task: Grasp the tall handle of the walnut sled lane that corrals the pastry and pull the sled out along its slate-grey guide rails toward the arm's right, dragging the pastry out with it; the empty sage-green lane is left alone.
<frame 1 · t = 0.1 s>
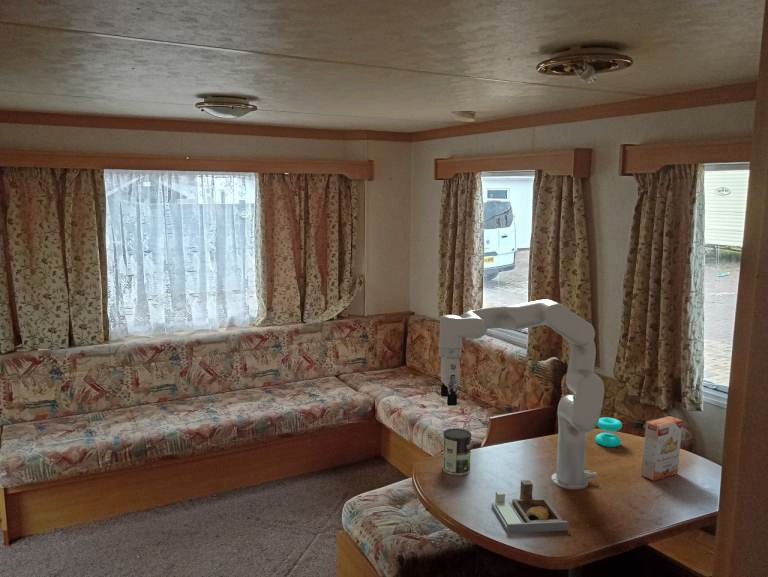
hand: (448, 400, 218), 31 cm above the table, fingers open, 9 cm apart
walnut sled: (534, 503, 203), point 4 cm above the table, slide at 0.0 cm
sage strip: (507, 510, 201), point 2 cm above the table, slide at 0.0 cm
pastry: (536, 520, 201), on the table
donuts: (607, 444, 264), on the table
lane guide: (527, 518, 201), on the table
cracker box: (659, 475, 235), on the table
coffee can: (456, 470, 237), on the table
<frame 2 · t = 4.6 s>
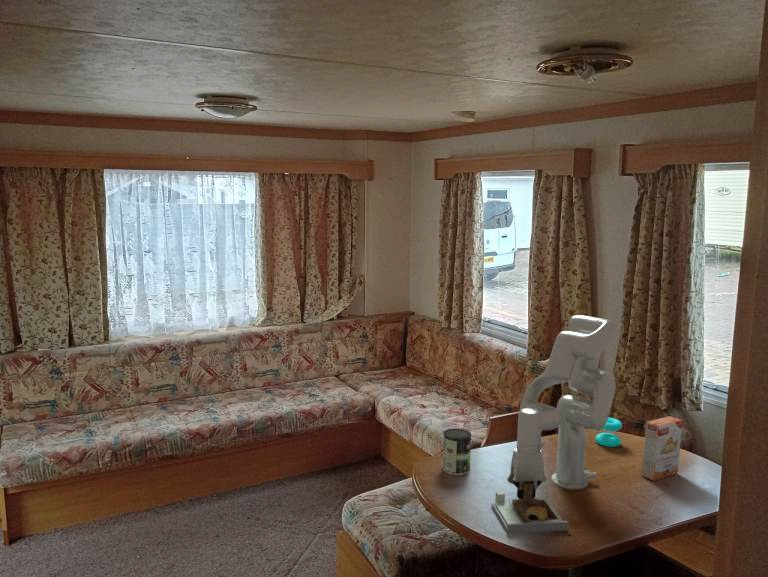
hand: (525, 499, 211), 1 cm above the table, fingers closed on walnut sled, 3 cm apart
walnut sled: (534, 503, 203), point 4 cm above the table, slide at 0.0 cm, touching gripper
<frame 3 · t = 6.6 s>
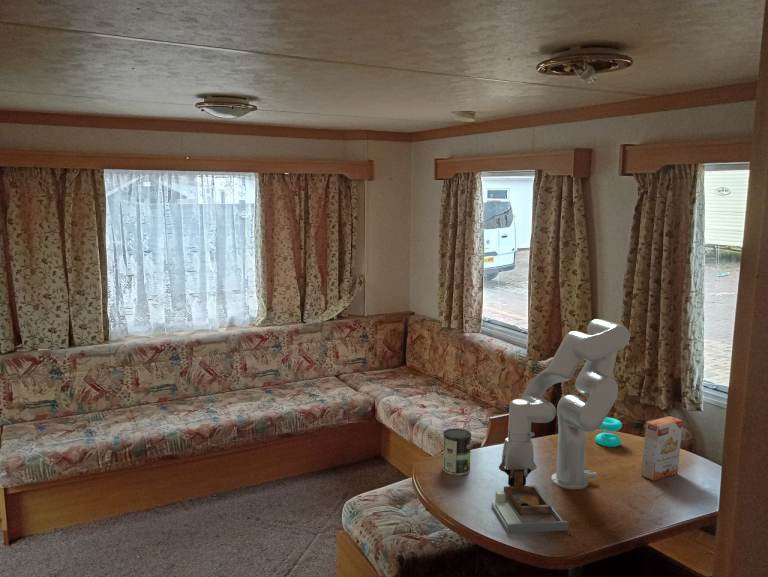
hand: (516, 486, 220), 1 cm above the table, fingers closed on walnut sled, 3 cm apart
walnut sled: (524, 490, 212), point 4 cm above the table, slide at 9.4 cm, touching gripper
pastry: (528, 508, 209), on the table
everything else where it was.
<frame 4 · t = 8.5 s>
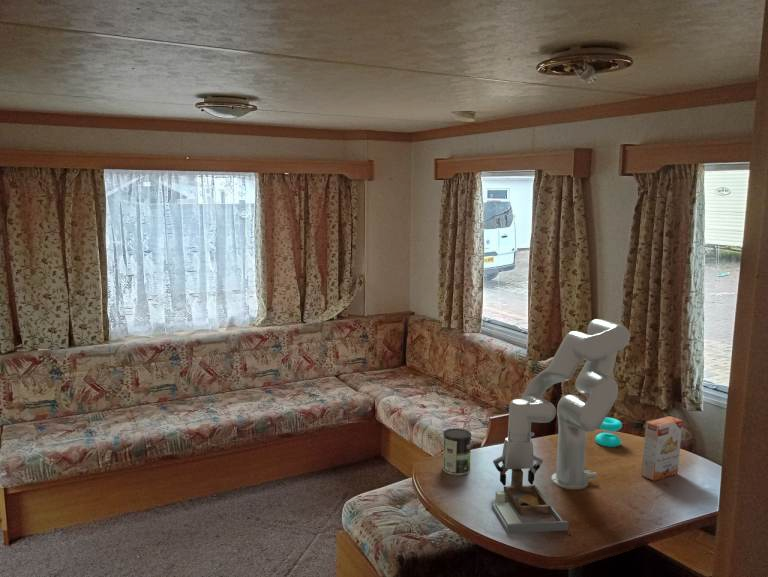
hand: (516, 483, 220), 3 cm above the table, fingers open, 9 cm apart
walnut sled: (524, 490, 212), point 4 cm above the table, slide at 9.5 cm
everything else where it was.
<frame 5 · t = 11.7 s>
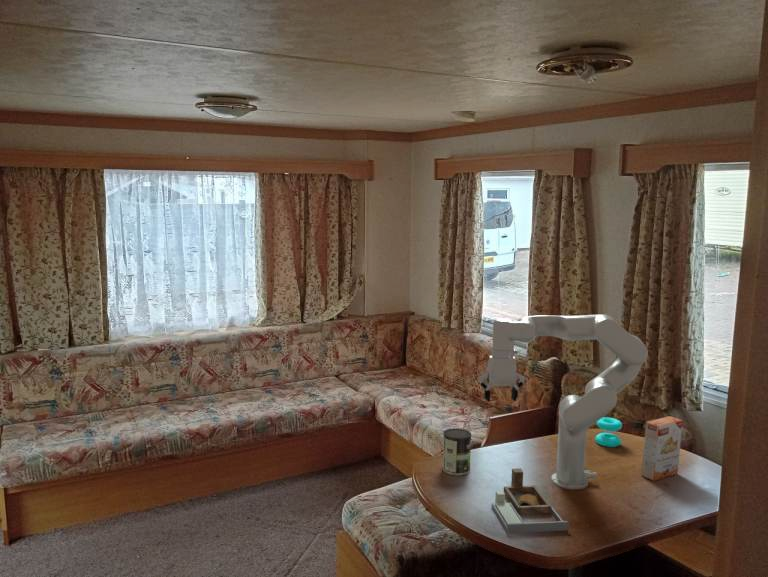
hand: (500, 400, 228), 28 cm above the table, fingers open, 9 cm apart
at the end: walnut sled slide at 9.3 cm; pastry inside the target area (1.8 cm from its centre), on the table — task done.
